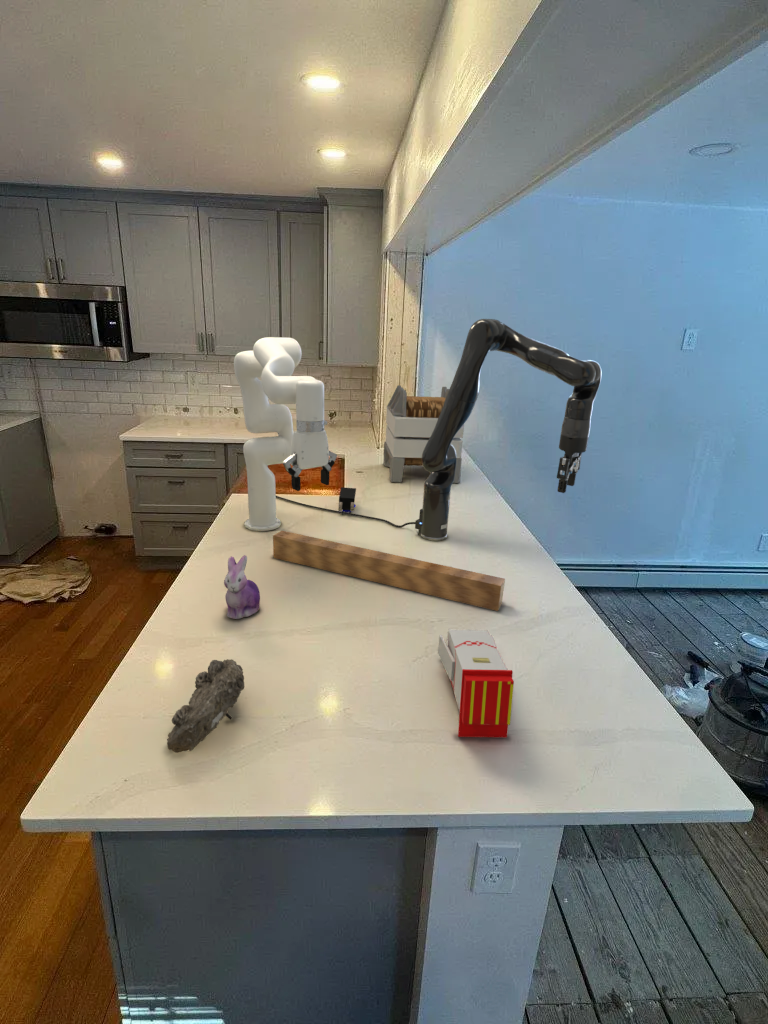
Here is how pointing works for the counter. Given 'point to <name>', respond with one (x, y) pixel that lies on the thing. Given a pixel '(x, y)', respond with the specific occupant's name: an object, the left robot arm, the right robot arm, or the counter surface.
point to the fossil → (206, 705)
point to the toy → (478, 682)
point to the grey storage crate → (413, 431)
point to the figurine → (240, 591)
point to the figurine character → (347, 500)
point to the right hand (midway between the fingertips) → (565, 488)
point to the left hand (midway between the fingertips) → (310, 486)
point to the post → (391, 569)
